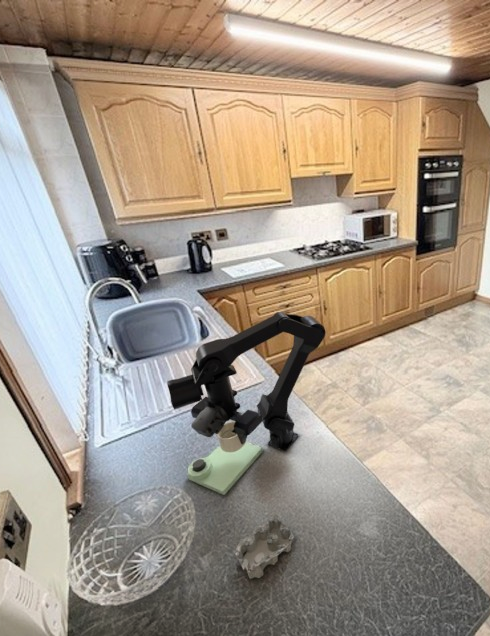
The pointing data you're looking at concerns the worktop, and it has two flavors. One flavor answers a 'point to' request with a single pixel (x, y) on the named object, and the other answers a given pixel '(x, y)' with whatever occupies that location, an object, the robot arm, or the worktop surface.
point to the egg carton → (264, 546)
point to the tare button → (198, 465)
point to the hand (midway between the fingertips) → (233, 439)
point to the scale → (224, 467)
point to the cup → (229, 438)
